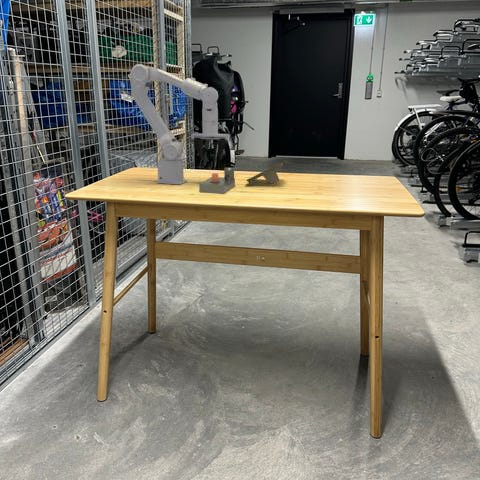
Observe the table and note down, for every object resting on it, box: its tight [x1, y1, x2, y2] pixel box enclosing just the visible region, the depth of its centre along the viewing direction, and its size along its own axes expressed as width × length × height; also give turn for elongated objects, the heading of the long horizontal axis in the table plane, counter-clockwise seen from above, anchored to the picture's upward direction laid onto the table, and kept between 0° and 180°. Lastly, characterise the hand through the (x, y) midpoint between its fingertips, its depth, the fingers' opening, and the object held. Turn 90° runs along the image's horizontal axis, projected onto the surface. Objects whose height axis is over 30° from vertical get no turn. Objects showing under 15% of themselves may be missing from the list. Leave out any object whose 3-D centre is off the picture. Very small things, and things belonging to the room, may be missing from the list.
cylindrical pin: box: [211, 173, 219, 183], centre depth 149 cm, size 2×2×6 cm
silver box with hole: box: [198, 167, 236, 195], centre depth 152 cm, size 9×14×7 cm, turn 165°
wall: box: [244, 162, 284, 185], centre depth 163 cm, size 16×9×15 cm
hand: (210, 158), depth 161 cm, fingers open, 7 cm apart
